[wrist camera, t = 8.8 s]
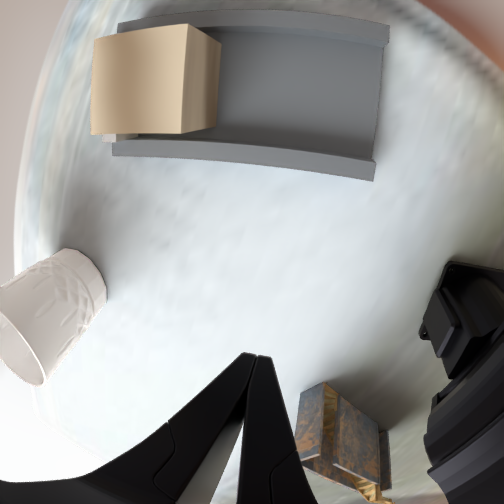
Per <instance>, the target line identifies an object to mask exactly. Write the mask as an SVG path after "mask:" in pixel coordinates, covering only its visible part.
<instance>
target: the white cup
mask: <svg viewBox="0 0 504 504" xmlns="http://www.w3.org/2000/svg"><path fill="white" fill-rule="evenodd" d="M106 302H107V292H106V286H105V283H104V281H103V278H102V276H101V273H100V272H99V270H98V269H97V268H96V266H95V265H94V264H93V263H92V261H91V260H90V259H89V258H88V257H86V256H85V255H83V254H82V253H80V252H79V251H78V250H73V249H68V248H64V249H62V250H60V251H58V252H57V253H55V254H53V255H52V256H50V257H49V258H47V259H45V260H43V261H39V262H37V263H36V264H35V265H33V266H31V267H29V268H27V269H26V270H24V271H23V272H21V273H20V274H18V275H17V276H15V277H14V278H12V279H11V280H9V281H7V282H6V283H4V284H3V285H2V286H1V287H0V359H1V360H2V361H3V363H4V364H6V366H7V367H8V368H9V369H11V371H12V372H13V373H14V374H16V375H17V376H18V377H19V378H21V379H22V380H24V381H25V382H27V383H28V384H30V385H32V386H35V387H44V386H45V385H46V383H47V382H48V381H49V379H50V378H51V376H52V375H53V374H54V372H55V371H56V370H57V368H58V367H59V366H60V364H61V363H62V362H63V361H64V359H65V358H66V357H67V355H68V354H69V353H70V351H71V350H72V349H73V348H74V346H75V345H76V344H77V343H78V341H79V340H80V339H81V337H82V336H83V334H84V333H85V332H86V330H87V329H88V328H89V327H90V325H91V322H92V321H93V320H94V318H95V317H96V316H97V315H98V314H99V313H100V311H101V310H102V308H103V307H104V305H105V304H106Z"/></svg>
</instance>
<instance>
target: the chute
mask: <svg viewBox="0 0 504 504" xmlns="http://www.w3.org/2000/svg"><path fill="white" fill-rule="evenodd" d="M178 24H190V25H191V26H193V27H195V28H196V29H198V30H200V31H202V32H203V33H205V34H207V35H208V36H210V37H211V38H213V39H215V40H216V41H218V42H219V43H221V44H222V47H221V59H220V73H219V87H218V102H217V119H216V127H211V128H206V129H201V130H196V131H191V132H187V133H182V134H168V133H129V134H102V142H112V156H137V157H163V158H182V159H198V160H212V161H224V162H235V163H245V164H255V165H264V166H273V167H281V168H289V169H297V170H304V171H311V172H318V173H325V174H331V175H337V176H344V177H349V178H355V179H361V180H367V181H372V182H373V179H374V173H375V167H376V162H375V161H373V160H372V159H371V158H372V151H373V144H374V137H375V129H376V121H377V113H378V104H379V94H380V84H381V72H382V58H383V47H385V46H386V45H387V44H388V43H389V28H390V26H389V25H385V24H380V23H376V22H371V21H366V20H361V19H355V18H349V17H343V16H336V15H329V14H321V13H312V12H301V11H288V10H264V9H234V10H211V11H197V12H187V13H178V14H170V15H162V16H156V17H149V18H144V19H138V20H133V21H128V22H123V23H118V28H117V34H119V33H124V32H130V31H135V30H141V29H147V28H154V27H161V26H169V25H178ZM114 35H115V34H114ZM109 36H110V35H109Z"/></svg>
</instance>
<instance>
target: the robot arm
mask: <svg viewBox="0 0 504 504" xmlns="http://www.w3.org/2000/svg"><path fill="white" fill-rule="evenodd" d="M452 267H454V268H453V270H451V271H449V270H450V268H452ZM425 332H427V333H426V334H424V333H425ZM419 336H420V338H421V339H422V340H431V342H432V345H433V348H434V351H435V354H436V356H437V357H438V358H442V361H443V364H444V367H445V370H446V373H447V376H448V379H453V380H452V381H451V382H450V383H449V384H448V385H447V386H446V387H445V388H444V389H443V390H442V391H441V392H438V393H437V394H436V395H435V396H434V397H433V398H432V406H431V413H430V415H429V417H428V425H427V433H426V434H425V435H424V438H423V439H424V445H425V450H426V453H427V455H428V458H429V461H430V462H431V464H432V466H433V467H431V468H430V469H428V471H427V473H428V475H429V476H430V477H431V478H432V479H433V480H434V481H435V482H436V483H438V485H439V486H440V488H441V489H442V491H443V492H444V494H445V496H446V498H447V500H448V503H449V504H504V271H503V270H498V269H493V268H488V267H482V266H477V265H471V264H466V263H460V262H455V261H450V262H448V263H447V264H446V265H445V267H444V270H443V272H442V275H441V278H440V281H439V283H438V286H437V288H436V289H435V290H434V292H433V295H432V297H431V300H430V302H429V305H428V307H427V310H426V312H425V314H424V317H423V323H422V325H421V328H420V330H419ZM243 422H244V426H243V436H242V446H241V456H240V466H239V476H238V486H237V495H236V504H318V503H317V501H316V499H315V497H314V495H313V492H312V490H311V488H310V485H309V483H308V481H307V478H306V475H305V472H304V469H303V466H302V463H301V460H300V456H299V453H298V451H297V446H296V443H295V439H294V436H293V432H292V429H291V425H290V421H289V418H288V414H287V411H286V407H285V404H284V400H283V396H282V393H281V389H280V386H279V382H278V378H277V375H276V371H275V368H274V364H273V360H272V358H271V357H269V356H263V355H258V356H256V354H252V353H246V352H243V353H241V354H240V355H239V356H238V357H237V358H236V359H235V360H234V361H233V362H232V363H231V364H230V365H229V366H228V367H227V368H226V369H225V370H223V371H222V372H221V373H220V374H219V375H218V376H217V377H216V378H215V379H214V380H213V381H212V382H211V383H209V384H208V385H207V386H206V387H205V388H204V389H203V390H202V391H201V392H200V393H199V394H197V395H196V396H195V397H194V398H193V399H192V400H191V401H190V402H188V403H187V404H186V405H185V406H184V407H183V408H182V409H181V410H179V411H178V412H177V413H176V414H175V415H174V416H173V417H171V418H170V419H169V420H168V423H167V422H166V423H164V424H163V425H162V426H161V427H160V428H159V429H157V430H156V431H155V432H154V433H152V434H151V435H150V436H149V437H147V438H146V439H145V440H143V441H142V442H140V443H139V444H137V445H136V446H134V447H133V448H131V449H130V450H128V451H127V452H125V453H123V454H122V455H120V456H118V457H117V458H115V459H113V460H112V461H110V462H108V463H107V464H105V465H103V466H101V467H100V468H98V469H96V470H95V471H93V472H91V473H88V474H86V475H83V476H80V477H76V478H71V479H62V480H51V481H38V482H6V481H2V480H0V504H210V502H211V499H212V497H213V495H214V493H215V490H216V488H217V486H218V483H219V481H220V479H221V476H222V474H223V472H224V469H225V467H226V465H227V462H228V460H229V458H230V455H231V453H232V450H233V448H234V445H235V443H236V440H237V438H238V436H239V433H240V431H241V428H242V425H243Z"/></svg>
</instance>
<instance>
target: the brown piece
mask: <svg viewBox="0 0 504 504" xmlns="http://www.w3.org/2000/svg"><path fill="white" fill-rule="evenodd" d="M326 384H327V383H324V382H322V383H320V384H318V385H316V386H314V387H312V388H310V389H308V390H306V391H304V392H302V393H300V401H299V408H298V416H297V423H296V431H295V438H294V439H295V443H296V446H297V451H298V453H299V456H300V460H301V463H302V466H303V469H305V470H307V471H309V472H312V473H314V474H316V475H318V476H320V477H322V478H325V479H327V480H329V481H331V482H334V483H336V484H338V485H341V486H343V487H345V488H348V489H350V490H353V491H355V492H358V493H360V494H361V495H362V496H363V497H364V498H365V499H366V500H367V501H368V502H373V503H383V504H395V502H394V503H392V499H388V498H385V497H382V492H385V491H388V490H391V489H392V483H391V462H390V446H389V434H388V430H385V431H383V432H381V433H379V434H378V423H377V422H375V421H373V420H372V419H371V418H369V417H368V416H367V415H365V414H364V413H362V412H361V411H360V410H358V409H357V408H356V407H354V406H353V405H352V404H350V403H349V402H348V401H346V400H345V399H344V398H342V397H341V396H340V395H339V393H337V392H335V391H334V390H333V389H332V388H330V387H329V386H328V385H326Z"/></svg>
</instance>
